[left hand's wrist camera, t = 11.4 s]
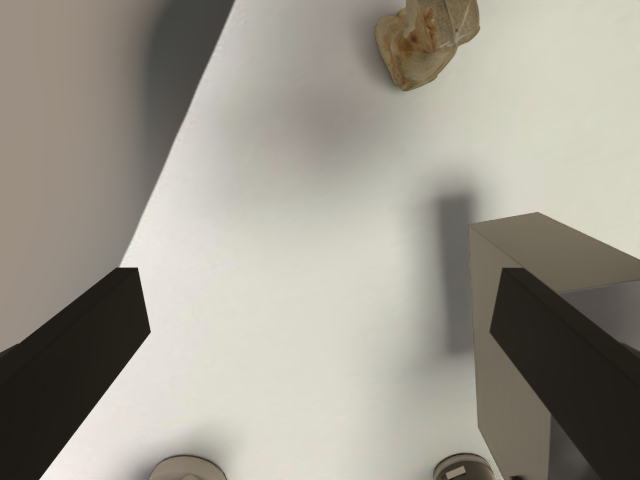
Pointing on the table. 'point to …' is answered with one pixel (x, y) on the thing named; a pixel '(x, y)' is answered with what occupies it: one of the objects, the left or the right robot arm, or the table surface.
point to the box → (578, 290)
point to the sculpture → (425, 38)
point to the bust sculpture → (186, 470)
